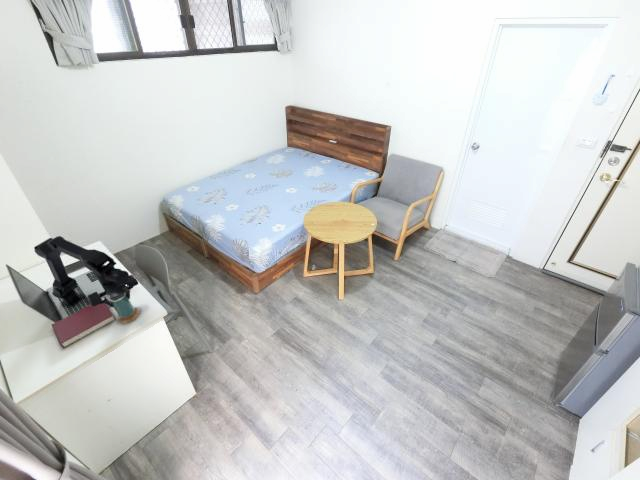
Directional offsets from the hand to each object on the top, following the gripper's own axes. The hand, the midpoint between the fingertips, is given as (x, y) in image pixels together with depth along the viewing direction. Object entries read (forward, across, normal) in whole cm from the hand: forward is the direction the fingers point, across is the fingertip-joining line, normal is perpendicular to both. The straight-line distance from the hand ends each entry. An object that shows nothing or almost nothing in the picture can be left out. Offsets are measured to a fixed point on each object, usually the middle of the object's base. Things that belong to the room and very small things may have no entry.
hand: (121, 302), depth 138 cm
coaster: (+9, 0, 0) cm, 9 cm away
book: (+9, -15, +9) cm, 20 cm away
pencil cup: (+6, 0, +5) cm, 8 cm away
